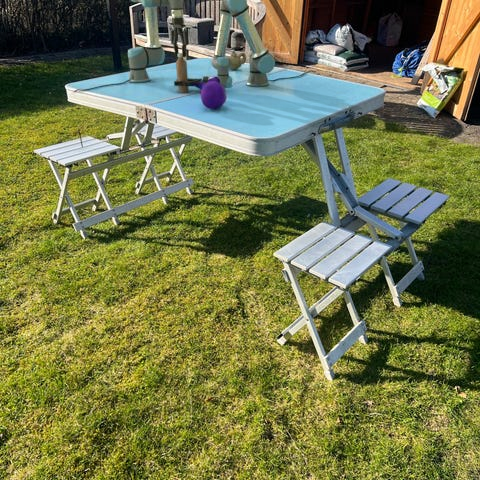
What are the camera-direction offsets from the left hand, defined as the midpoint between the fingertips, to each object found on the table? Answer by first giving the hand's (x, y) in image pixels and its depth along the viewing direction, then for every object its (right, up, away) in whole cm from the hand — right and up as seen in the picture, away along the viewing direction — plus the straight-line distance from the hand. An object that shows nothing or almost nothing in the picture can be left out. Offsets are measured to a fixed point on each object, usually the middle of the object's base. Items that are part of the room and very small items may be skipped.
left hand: (180, 56), depth 294 cm
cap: (0, +1, -1) cm, 1 cm away
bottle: (0, -19, +11) cm, 23 cm away
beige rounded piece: (+35, +21, +78) cm, 88 cm away
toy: (+21, -41, -26) cm, 53 cm away
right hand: (-5, -14, +9) cm, 17 cm away
